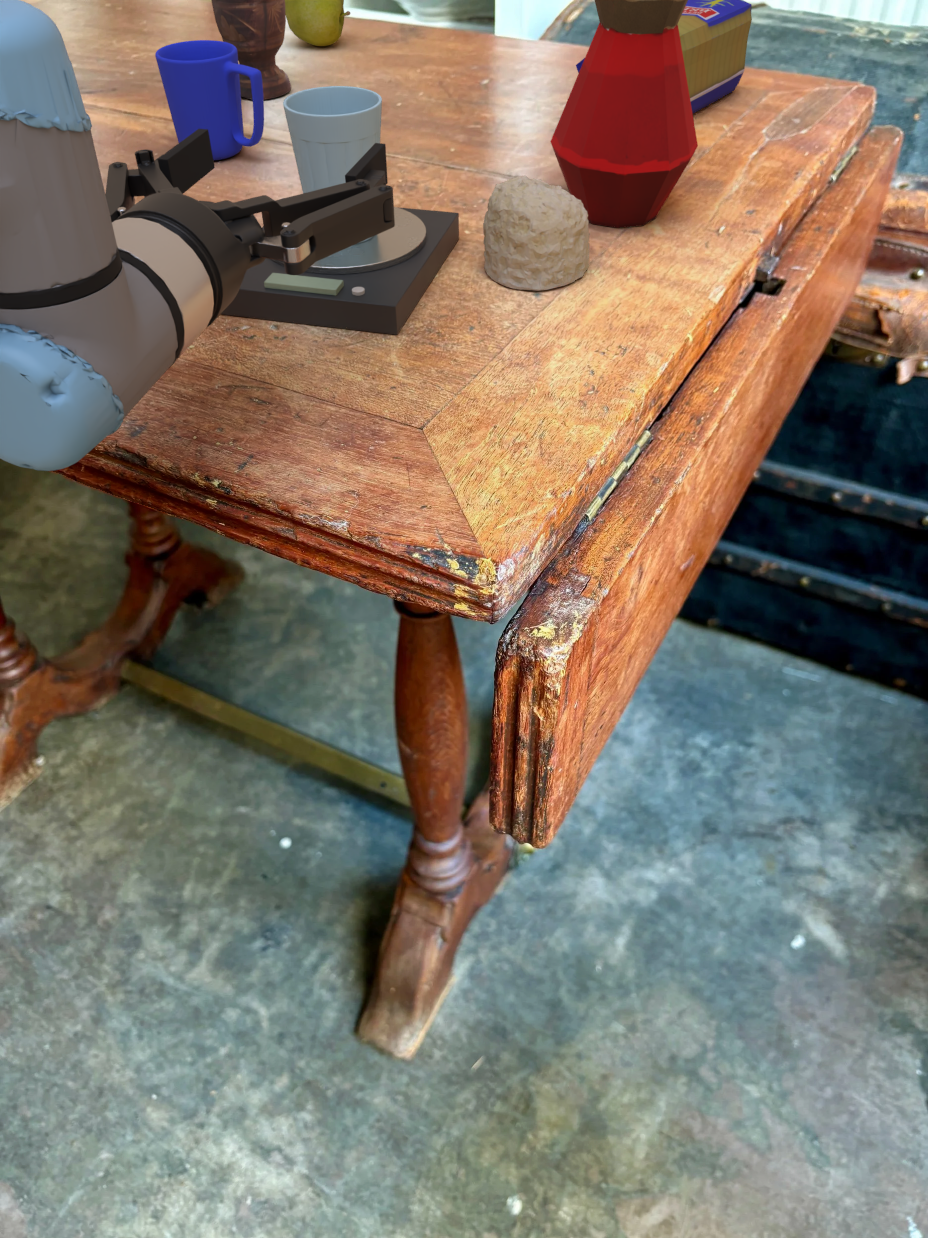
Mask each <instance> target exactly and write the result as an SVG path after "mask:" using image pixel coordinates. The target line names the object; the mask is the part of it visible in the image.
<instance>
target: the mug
mask: <svg viewBox="0 0 928 1238" xmlns="http://www.w3.org/2000/svg"><path fill="white" fill-rule="evenodd" d="M154 56H155V60H156V64H157V67H158V71H159V75H160V79H161V82H162V86H163V90H164V94H165V97H166V101H167V104H168V105H167V106H168V109H169V113H170V116H171V120H172V124H173V127H174V131H175V135H176V139H177V142H178V144H179V143H180V142H181V141H183V140H184V139H185V138H187V137H188V136H189V135H191V134H192V133H194V132H195V131H196V130H198V129H208V132H209V137H210V143H211V149H212V155H213V161H219V160H221V161H222V160H224V159H229V158H232V157H233V156H236V155H238V154H239V153H240V152H241V151H242V149H243V147H247V148H251V147H254V146H255V145H257V144H259V142H260V141H261V139H262V137H263V134H264V126H265V102H264V100H263V85H262V75H261V72H260V71H259V70H258V69H255V68H252V67H249V66H245V65H241V64H239V61H238V53H237V48H236V47H235V46H234V45H232V44H230V43H227V42H223V40H210V39H199V40H198V39H197V40H186V41H178V42H175V43H171V44H167V45H165V46H162V47H160V48H158V49H157V50H156V51H155V54H154ZM239 74H242V75H245V76H248V77H249V78H250V81H251V89H252V99H251V101H252V113H253V114H252V115H253V116H252V117H253V126H252V134H251V137H250V138H248V137H245V133H244V131H245V130H244V120H243V107H242V97H241V92H240V79H239Z"/></svg>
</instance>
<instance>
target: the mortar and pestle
mask: <svg viewBox="0 0 928 1238" xmlns="http://www.w3.org/2000/svg"><path fill="white" fill-rule="evenodd" d="M211 6H212V11H213V16H214V20H215V24H216V26H217V30H218V32H219V34H220V36H221V39H222V42H227V43H230V44H232V45H234V46H235V47H236V48H237V53H238V64H241V65H245V66H249V67H252V68H255V69H258V70H259V71H260V72H261V75H262V85H263V100H271V99H275V98H279V97H281V96H284V95H286V94H287V93H289V92H291V91H292V84H291V80H290V78H289V76H288V73H286V71H284V70H283V69H281V68H280V67H279V66H278V65H277V64H276V63H277V62H276V55H277V54H278V52H279V50H280V49H281V47H282V46H283V43H284V40H285V34H286V24H287V18H286V15H285V0H211ZM239 79H240V92H241V98H244V99H247V100H252V89H251V81H250V78H249V77H248V76H245V75H242V74H239Z"/></svg>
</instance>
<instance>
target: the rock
mask: <svg viewBox="0 0 928 1238" xmlns="http://www.w3.org/2000/svg"><path fill="white" fill-rule="evenodd" d="M587 217H588V213H587V211H586V210H585V208H584V206H583V203H582V202H581V200H579V199H577V198H575V197H574V195H571V194H570V192H569V191H567V190H566V189H563V187H562V186H561V185H553V184H552V185H551V184H549V183H548V182H547V181H543V180H542V179H539V178H533V179H530V178H529V177H528V176H527V175H526V174H524V175H518V176H515V177H513V178H509V179H507V180H505V181H504V182H500V183H496V184H495V186H494V189H493V190H492V192H491V195H490V196H489V198H488V201H487V210H486V212H485V214H484V217H483V223H482V230H483V231H482V232H483V246H484V251H483V256H484V265H483V269H484V270H485V272H486V275H487V276H489V278H490V279H491V280H492V281H494V282H496V283H497V284H500V285H502V286H503V287H507V288H510V289H513V290H521V291H537V292H539V291H547V290H552V289H556V288H560V287H564V286H567V285H569V284H572V283H574V282H576V281H577V280H578V279H580V278H582V277H584V276H583V275H585V273H586V272H587V271H588V269H589V267H590V237H591V233H590V229H589V225H590V222H589V221H588V218H587ZM586 270H587V271H586ZM575 280H576V281H575Z"/></svg>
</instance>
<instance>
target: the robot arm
mask: <svg viewBox="0 0 928 1238" xmlns="http://www.w3.org/2000/svg"><path fill="white" fill-rule="evenodd" d="M92 128H93V124H92V120H91V117H90V115H89V113H87V112H86V108H85V104H84V101H83V98H82V94H81V90H80V87H79V83H78V80H77V77H76V73H75V69H74V65H73V64H72V61H71V59H70V56H69V54H68V50H67V48H66V45H65V41H64V38H63V36H62V33H61V31H60V30H59V27H58V26H57V24H56V22H54V20H53V19H52V18H51V17H50V16H49V15H48V14H47V13H46V12H44V11H43V10H42V9H40V8H38V7H36V6H34V5H32V4H31V3H28V2H26V1H24V0H0V459H1V460H2V461H4V462H6V463H9V464H11V465H13V466H17V467H20V468H24V469H31V470H35V471H43V472H44V471H45V472H52V471H58V470H64V469H66V468H68V467H69V468H70V467H71V466H73V465H75V464H77V463H79V461H81V460H82V459H83V458H84V457H85V456H86V455H88V454H89V453H90V452H91V451H92V450H93V449H94V448H95V447H97V446H98V445H100V443H101V442H102V441H104V440H105V439H106V438H107V437H109V436H111V435H113V434H114V433H116V432H117V431H118V430H119V428H121V426H122V424H123V422H124V419H125V418H126V417H127V416H128V415H129V413H130V412H131V411H132V410H133V408H134V407H135V406H136V405H137V404H138V403H139V402H140V401H141V399H143V398H144V396H145V395H146V394H147V393H148V392H149V391H150V390H151V389H152V388H153V386H154V385H156V384H157V382H158V381H159V380H160V379H161V378H162V376H163V375H165V373H166V372H167V371H168V370H170V368H171V367H172V366H173V365H174V364H175V363H176V361H177V360H178V359H179V358H181V356H182V355H183V354H184V353H185V352H186V351H187V350H188V349H189V347H191V345H193V344H194V342H195V341H196V340H197V339H198V338H199V337H200V336H201V335H202V334H203V332H204V331H206V329H208V328H209V326H211V325H212V324H213V323H214V322H215V321H216V320H217V318H219V316H220V315H222V314H221V313H222V312H223V311H224V310H225V309H226V308H227V307H228V306H229V304H230V303H231V302H232V301H233V300H234V298H235V297H236V295H237V293H238V291H239V289H240V286H241V284H242V281H243V278H244V276H245V273H246V271H247V270H248V269H249V268H251V267H254V266H256V265H259V264H261V263H262V262H263V261H264V260H265V259H266V258H268V259H275V260H281V261H284V265H285V272H286V273H287V274H289V275H299V274H302V273H304V272H305V271H306V270H307V269H308V268H309V267H311V266H312V265H313V264H314V263H315V262H316V261H319V260H321V259H323V258H325V257H328V256H330V255H332V254H334V253H337V252H339V251H341V250H343V249H346V248H348V247H350V246H352V245H355V244H357V243H359V242H361V241H364V240H366V239H368V238H371V237H373V236H375V235H377V234H380V233H382V232H384V231H386V230H389V229H391V228H393V227H394V226H395V219H394V207H395V204H394V203H395V202H394V187H393V186H391V185H388V183H389V182H388V165H387V164H388V163H387V148H386V143H381V142H380V143H375V144H374V145H373V146H372V147H371V148H370V149H369V150H368V151H367V152H366V153H365V154H364V156H363V157H362V158H361V159H360V160H359V161H358V162H357V163H356V164H355V165H354V166H353V167H352V168H351V169H350V170H349V171H348V173H347V174H346V175H345V182H346V183H343V184H339V185H335V186H331V187H327V188H323V189H319V190H315V191H311V192H307V193H303V192H302V193H300V194H295V195H291V196H287V197H283V198H281V199H276V200H275V199H273V198H272V197H270V196H269V195H267V194H263V195H258V196H254V197H250V198H247V199H242V200H238V201H231V200H227V199H226V200H220V201H217V202H214V201H209V200H198V199H196V198H194V197H193V196H192V197H191V196H189V195H186V192H188V190H190V189H191V188H192V187H194V185H196V184H197V183H198V182H199V181H201V180H202V179H203V178H205V176H207V175H208V174H209V173H211V172H212V171H213V170H214V169H216V167H215V160H213V155H212V149H211V143H210V137H209V132H208V129H198V130H196V131H195V132H194V133H192V134H191V135H189V136H188V137H187V138H185V139H184V140H183V141H181V142H180V143H179V142H178V143H177V144H176V145H174V146H173V147H172V148H170V149H169V150H168V151H166V152H165V153H164V154H163V153H162V154H161V155H160V156H158V157H156V158H155V157H154V152H153V150H152V149H140V150H139V149H138V150H136V151H135V152H134V157H135V162H136V165H137V168H132V169H129V167H128V163H126V162H124V161H122V162H121V161H114V162H112V163H110V164H109V165H108V169H107V176H106V186H105V187H104V182H103V178H102V174H101V169H100V165H99V160H98V155H97V152H96V147H95V144H94V143H95V142H94V139H93V134H92ZM135 197H143V198H142V199H140V200H138V201H137V202H136V198H135ZM260 213H261V218H262V219H261V220H262V225H263V226H264V231H263V229H262V227H263V226H262V225H261V224H260V222H259V221H258V219H257V218H256V216H255V215H257V214H260Z"/></svg>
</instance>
